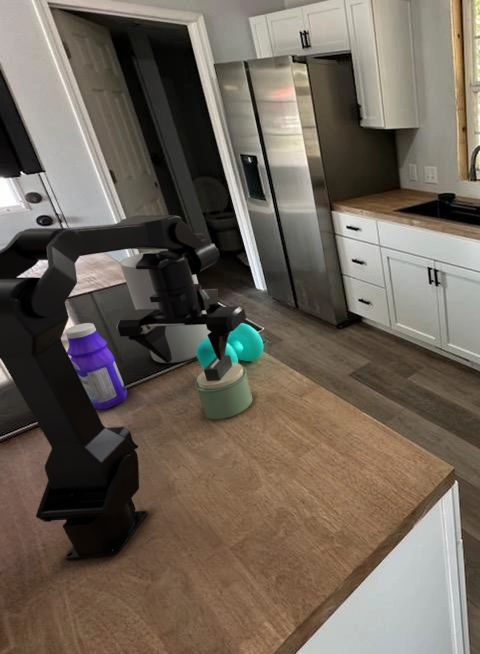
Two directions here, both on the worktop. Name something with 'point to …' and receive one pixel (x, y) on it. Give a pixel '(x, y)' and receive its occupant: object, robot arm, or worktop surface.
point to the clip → (218, 368)
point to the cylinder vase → (140, 288)
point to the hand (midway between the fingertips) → (195, 360)
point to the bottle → (95, 366)
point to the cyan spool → (234, 346)
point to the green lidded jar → (225, 393)
